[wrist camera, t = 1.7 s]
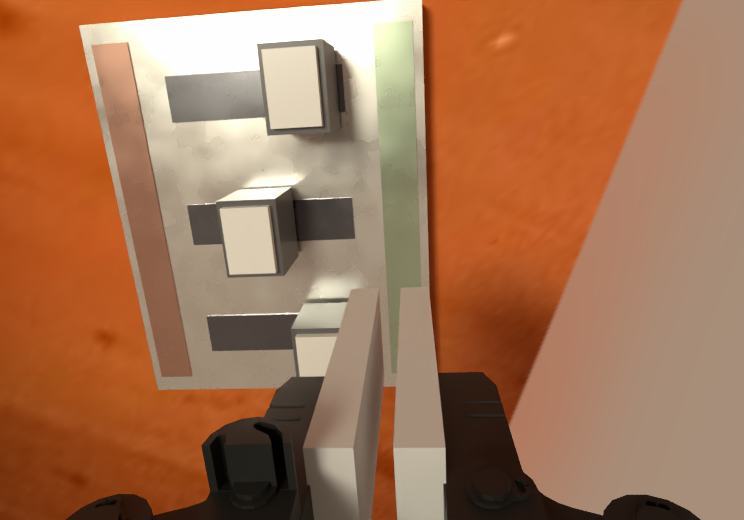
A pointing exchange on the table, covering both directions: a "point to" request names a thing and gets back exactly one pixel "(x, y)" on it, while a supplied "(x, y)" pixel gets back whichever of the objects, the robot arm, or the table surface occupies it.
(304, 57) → the block
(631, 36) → the table surface
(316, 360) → the breaker
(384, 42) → the panel
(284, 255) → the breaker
